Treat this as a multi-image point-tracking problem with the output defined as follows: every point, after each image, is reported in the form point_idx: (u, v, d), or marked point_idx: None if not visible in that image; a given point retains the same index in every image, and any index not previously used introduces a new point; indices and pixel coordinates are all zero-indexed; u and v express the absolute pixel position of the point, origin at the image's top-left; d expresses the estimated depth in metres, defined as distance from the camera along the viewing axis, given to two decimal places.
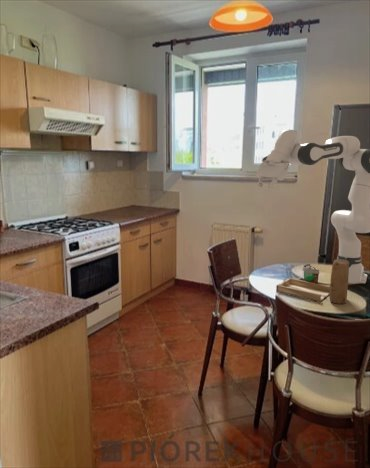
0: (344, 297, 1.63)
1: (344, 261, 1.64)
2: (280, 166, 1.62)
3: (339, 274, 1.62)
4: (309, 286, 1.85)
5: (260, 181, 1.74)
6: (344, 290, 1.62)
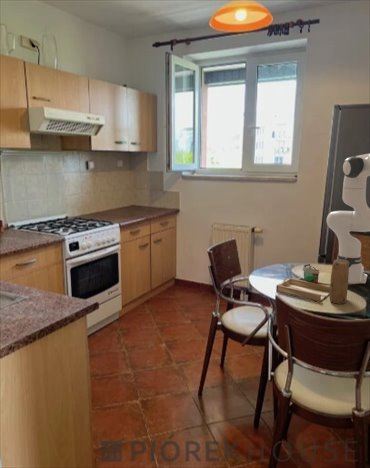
0: (344, 297, 1.63)
1: (344, 261, 1.64)
2: None
3: (339, 274, 1.62)
4: (309, 286, 1.85)
5: None
6: (344, 290, 1.62)
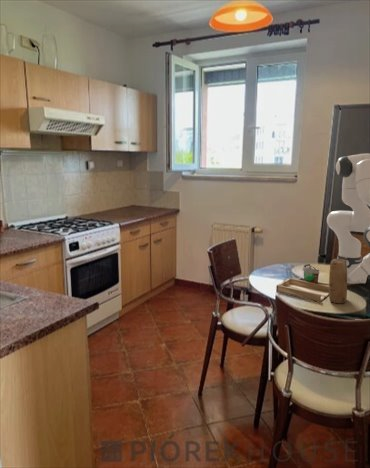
0: (344, 296, 1.63)
1: (342, 260, 1.65)
2: None
3: (337, 273, 1.62)
4: (309, 286, 1.85)
5: None
6: (343, 289, 1.62)
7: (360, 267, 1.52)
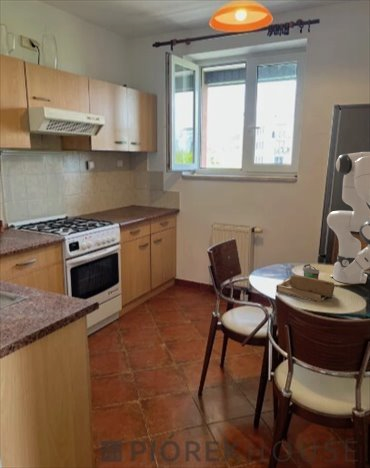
0: (324, 282, 1.69)
1: None
2: None
3: (300, 282, 1.74)
4: None
5: None
6: (316, 281, 1.70)
7: (355, 262, 1.53)
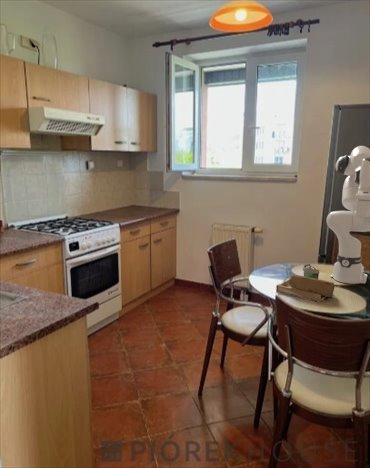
0: (324, 282, 1.69)
1: None
2: None
3: (300, 282, 1.74)
4: None
5: None
6: (316, 281, 1.70)
7: (358, 201, 1.52)
